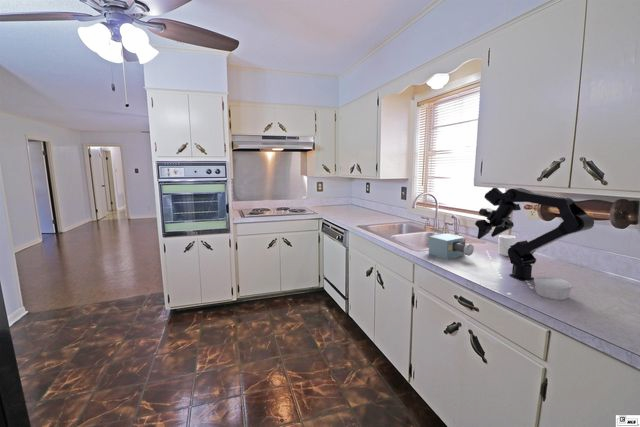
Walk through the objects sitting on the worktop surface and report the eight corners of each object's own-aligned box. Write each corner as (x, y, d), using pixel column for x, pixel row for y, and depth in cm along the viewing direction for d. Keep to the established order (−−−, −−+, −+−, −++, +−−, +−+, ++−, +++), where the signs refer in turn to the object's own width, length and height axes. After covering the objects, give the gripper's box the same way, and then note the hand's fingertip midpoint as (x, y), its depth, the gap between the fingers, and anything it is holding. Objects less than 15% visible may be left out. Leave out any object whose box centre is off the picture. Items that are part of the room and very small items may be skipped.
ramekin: (550, 287, 115) (552, 275, 114) (579, 300, 104) (581, 286, 103) (525, 290, 113) (526, 277, 113) (551, 303, 102) (553, 288, 102)
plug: (473, 254, 149) (474, 243, 148) (465, 256, 147) (466, 245, 146) (450, 248, 162) (450, 237, 161) (442, 249, 159) (443, 239, 159)
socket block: (465, 255, 159) (466, 237, 157) (446, 259, 153) (447, 240, 151) (446, 250, 170) (447, 233, 168) (428, 253, 164) (429, 236, 162)
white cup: (513, 253, 160) (514, 235, 159) (515, 257, 153) (516, 238, 152) (496, 251, 164) (497, 234, 162) (497, 255, 157) (498, 237, 156)
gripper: (503, 200, 140) (486, 224, 150) (475, 202, 134) (459, 228, 143) (522, 214, 132) (503, 239, 142) (493, 218, 126) (475, 244, 135)
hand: (485, 237), depth 141 cm, fingers open, 9 cm apart
